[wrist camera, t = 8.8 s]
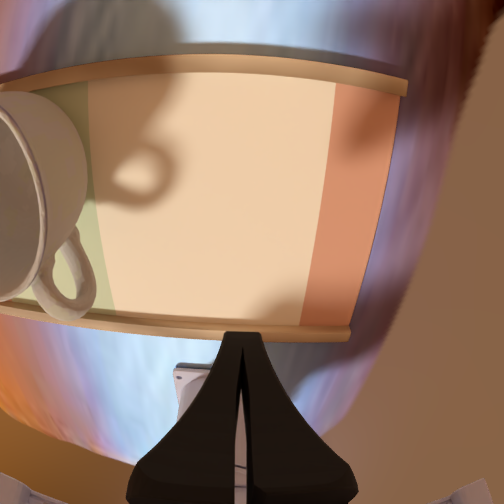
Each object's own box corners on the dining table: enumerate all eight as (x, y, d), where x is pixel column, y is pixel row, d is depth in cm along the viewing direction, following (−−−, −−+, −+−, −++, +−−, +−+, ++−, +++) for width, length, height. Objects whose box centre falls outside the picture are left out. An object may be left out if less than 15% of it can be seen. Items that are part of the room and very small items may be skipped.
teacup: (-32, 142, 16) (-107, 181, 9) (62, 45, 14) (-29, 44, 7) (58, 288, 22) (11, 361, 15) (167, 232, 20) (130, 317, 13)
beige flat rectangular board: (345, 333, 25) (347, 341, 24) (-11, 303, 23) (-16, 309, 23) (400, 79, 15) (408, 80, 15) (-57, 106, 14) (-66, 109, 13)
